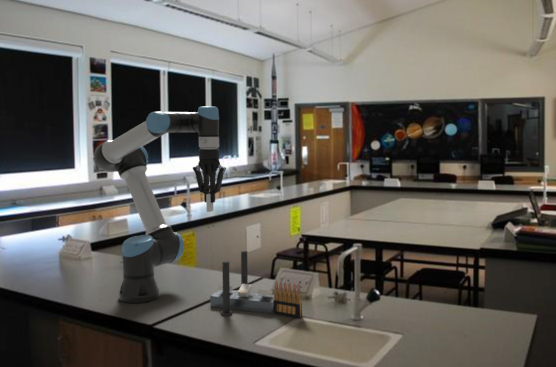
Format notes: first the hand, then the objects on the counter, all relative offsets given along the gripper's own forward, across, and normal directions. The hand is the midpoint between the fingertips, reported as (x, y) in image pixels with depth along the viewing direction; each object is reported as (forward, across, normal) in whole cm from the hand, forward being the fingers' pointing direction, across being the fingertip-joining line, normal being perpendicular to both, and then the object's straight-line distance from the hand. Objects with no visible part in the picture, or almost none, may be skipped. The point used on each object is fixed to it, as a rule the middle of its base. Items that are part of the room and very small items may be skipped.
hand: (210, 211), depth 203 cm
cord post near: (+34, +12, -12) cm, 39 cm away
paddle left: (+28, +7, -2) cm, 29 cm away
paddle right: (+28, +23, -2) cm, 37 cm away
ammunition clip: (+35, +33, -7) cm, 48 cm away
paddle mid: (+28, +15, -2) cm, 32 cm away
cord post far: (+34, +12, +4) cm, 37 cm away
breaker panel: (+34, +15, -2) cm, 38 cm away
